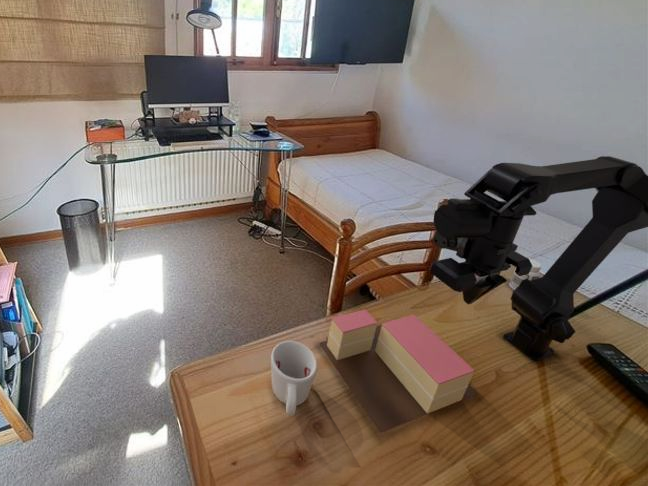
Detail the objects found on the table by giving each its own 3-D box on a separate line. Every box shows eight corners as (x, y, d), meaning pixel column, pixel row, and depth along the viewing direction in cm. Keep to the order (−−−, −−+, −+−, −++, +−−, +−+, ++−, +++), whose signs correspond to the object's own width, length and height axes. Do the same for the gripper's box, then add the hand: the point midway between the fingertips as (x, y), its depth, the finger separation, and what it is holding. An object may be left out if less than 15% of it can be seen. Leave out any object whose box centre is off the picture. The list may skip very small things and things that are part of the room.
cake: (405, 341, 71) (414, 314, 69) (461, 400, 60) (475, 370, 57) (374, 350, 69) (381, 323, 66) (427, 414, 58) (439, 383, 55)
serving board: (400, 322, 77) (401, 319, 77) (476, 397, 62) (477, 393, 61) (317, 346, 71) (318, 342, 70) (378, 436, 55) (379, 433, 55)
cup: (312, 436, 55) (319, 403, 52) (263, 424, 56) (267, 391, 53) (311, 375, 65) (316, 344, 62) (269, 366, 66) (273, 336, 63)
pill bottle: (526, 285, 91) (538, 259, 88) (534, 296, 87) (547, 270, 84) (505, 280, 92) (516, 255, 89) (512, 292, 88) (524, 265, 85)
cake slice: (358, 336, 72) (365, 309, 69) (370, 350, 69) (377, 322, 66) (326, 345, 70) (331, 317, 67) (337, 360, 67) (343, 332, 64)
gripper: (486, 207, 70) (464, 268, 76) (416, 218, 64) (398, 284, 70) (548, 235, 60) (516, 303, 66) (471, 252, 54) (445, 325, 60)
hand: (467, 302), depth 66 cm, fingers closed
